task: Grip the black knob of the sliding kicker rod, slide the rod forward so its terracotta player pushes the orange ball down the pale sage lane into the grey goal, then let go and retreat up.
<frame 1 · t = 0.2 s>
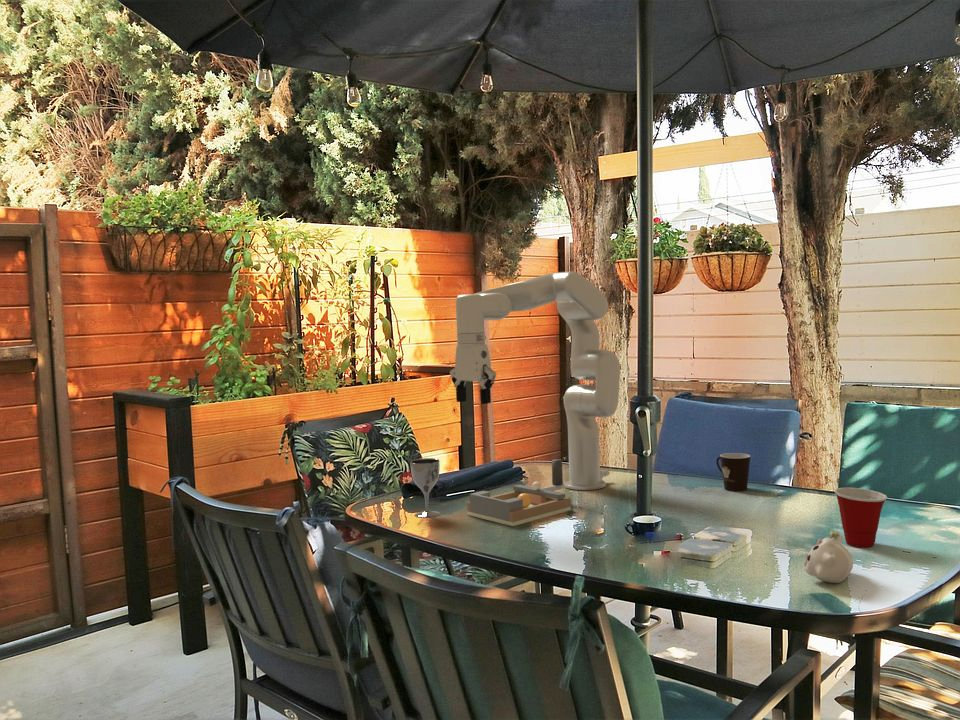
hand: (473, 402, 226), 31 cm above the table, fingers open, 9 cm apart
foosball lane: (519, 512, 227), on the table
kicker rod: (548, 481, 234), point 7 cm above the table, slide at 0.0 cm
white bulbous lump: (830, 580, 164), on the table
wine glass: (427, 515, 229), on the table
plastic cup: (861, 545, 187), on the table
ball: (524, 500, 228), point 3 cm above the table, touching foosball lane
coffee mug: (734, 488, 247), on the table
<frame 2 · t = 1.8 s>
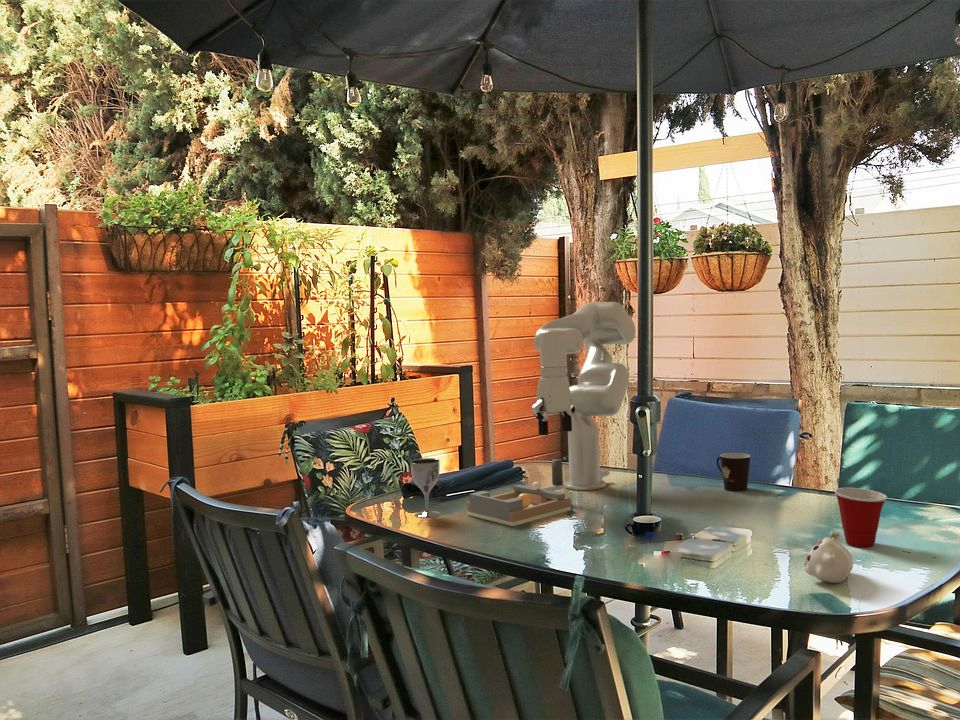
hand: (555, 432, 236), 20 cm above the table, fingers open, 9 cm apart
nothing on the table moved.
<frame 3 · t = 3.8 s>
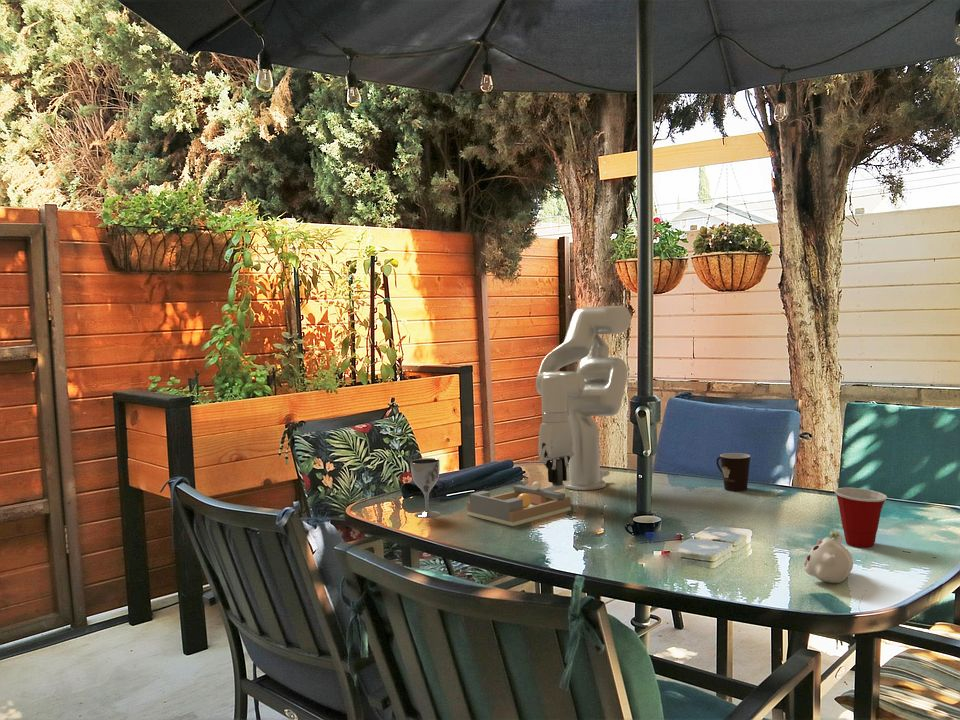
hand: (557, 480, 237), 6 cm above the table, fingers closed on kicker rod, 3 cm apart
kicker rod: (548, 481, 234), point 7 cm above the table, slide at 0.0 cm, touching gripper
everything else where it was.
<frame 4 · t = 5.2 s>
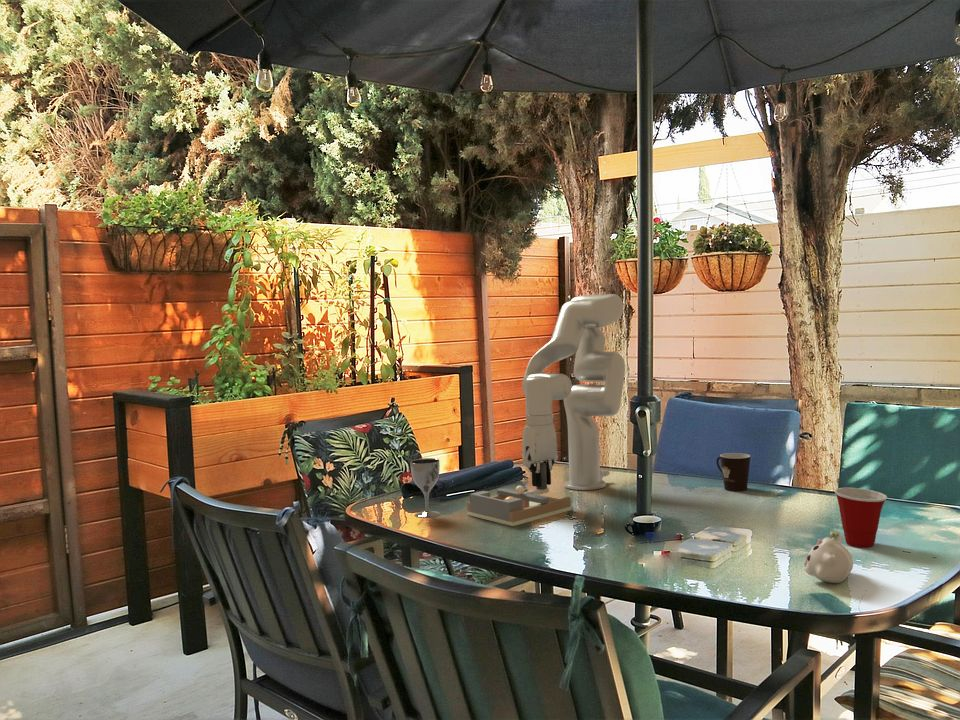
hand: (541, 484, 233), 6 cm above the table, fingers closed on kicker rod, 3 cm apart
kicker rod: (531, 484, 230), point 7 cm above the table, slide at 6.5 cm, touching gripper
ball: (510, 503, 225), point 3 cm above the table, tilted 147°, touching foosball lane
everything else where it was.
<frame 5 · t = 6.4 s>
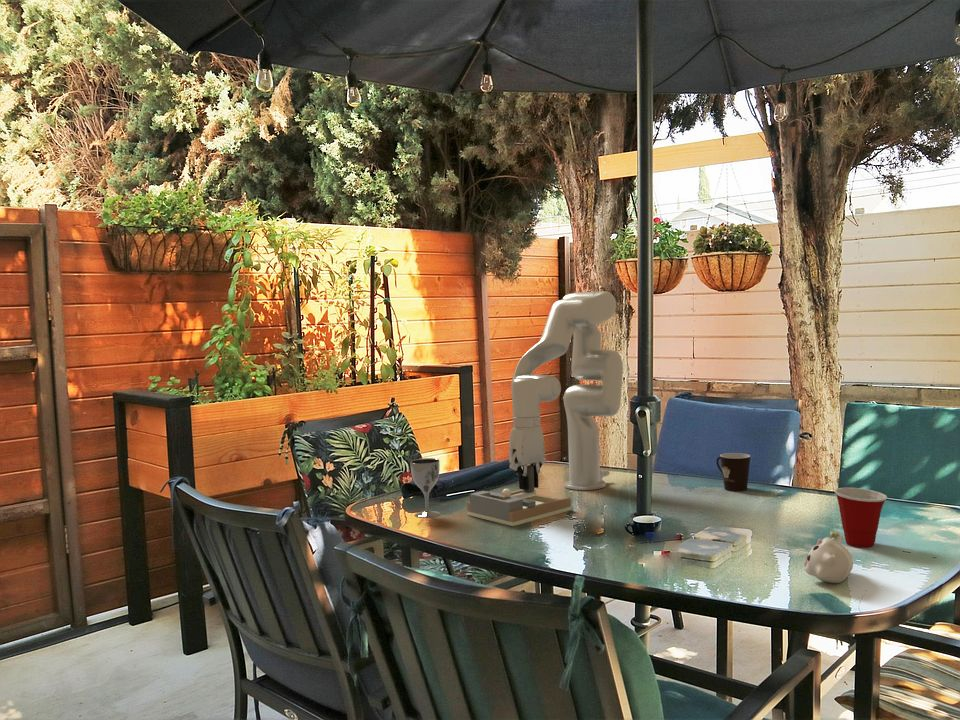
hand: (528, 487, 229), 6 cm above the table, fingers closed on kicker rod, 3 cm apart
kicker rod: (518, 487, 227), point 7 cm above the table, slide at 11.5 cm, touching gripper
ball: (497, 507, 222), point 3 cm above the table, tilted 80°, touching foosball lane
everything else where it was.
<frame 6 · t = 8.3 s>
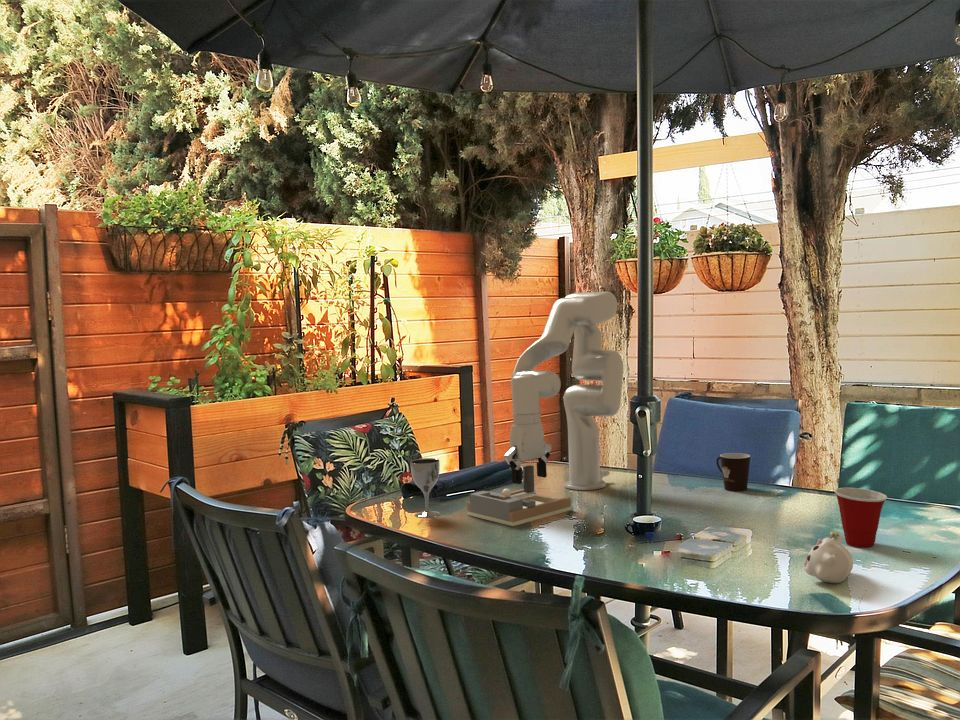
hand: (529, 480, 230), 8 cm above the table, fingers open, 9 cm apart
kicker rod: (518, 487, 227), point 7 cm above the table, slide at 11.5 cm
ball: (498, 506, 222), point 3 cm above the table, tilted 90°, touching foosball lane
everything else where it was.
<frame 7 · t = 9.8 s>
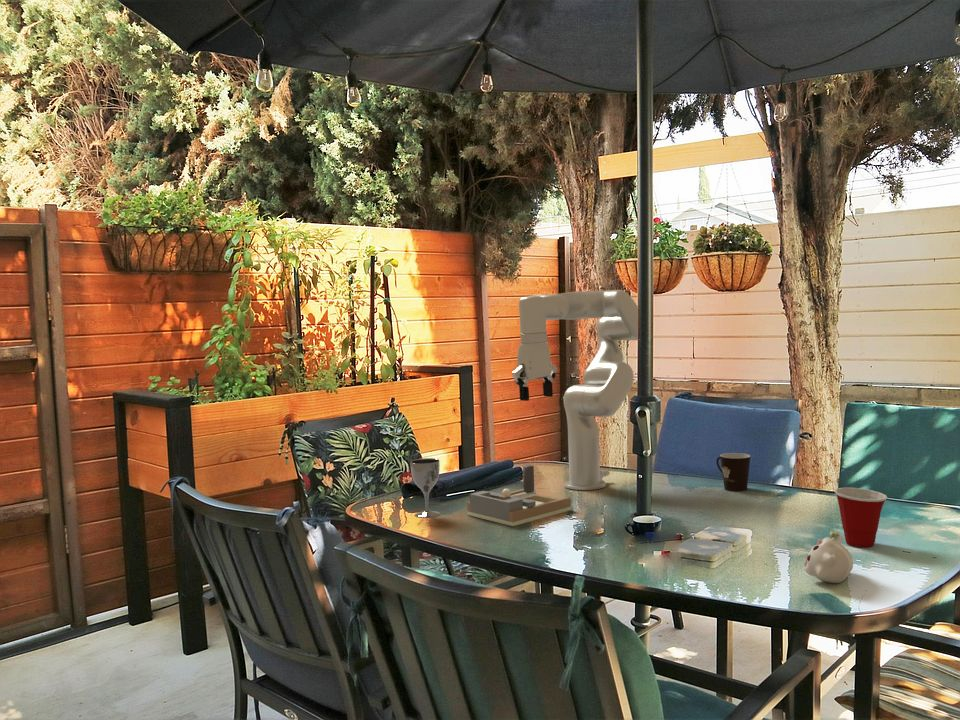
hand: (536, 398, 239), 30 cm above the table, fingers open, 9 cm apart
nothing on the table moved.
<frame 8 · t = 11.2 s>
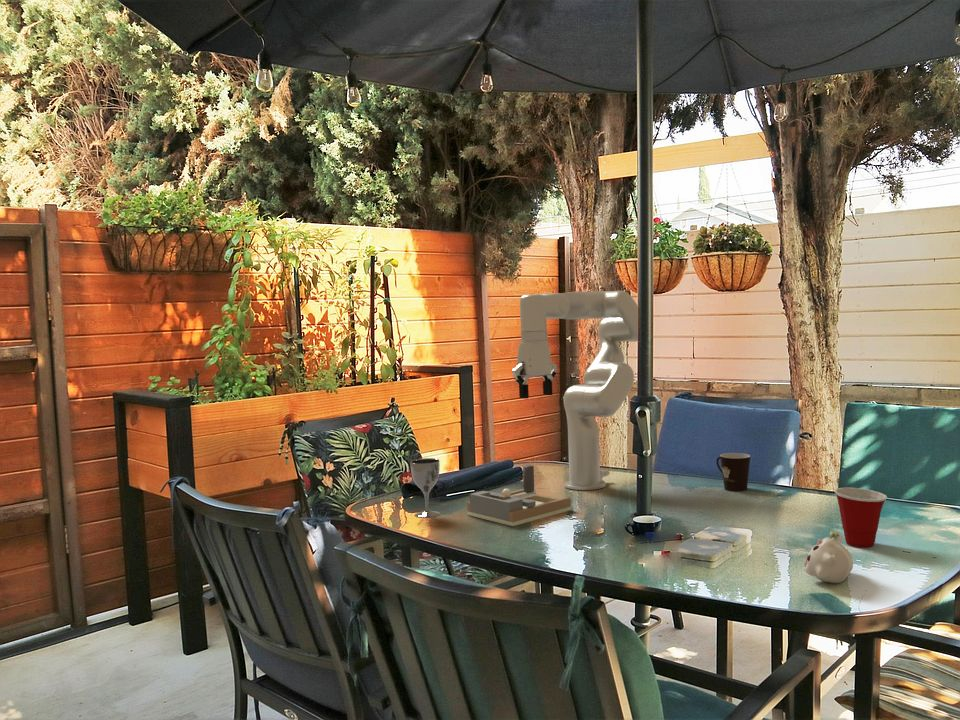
hand: (536, 396, 239), 30 cm above the table, fingers open, 9 cm apart
nothing on the table moved.
at the end: ball 0.8 cm from the target spot on the foosball lane, point 3.0 cm above the foosball lane's base; kicker rod slide at 11.5 cm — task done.
